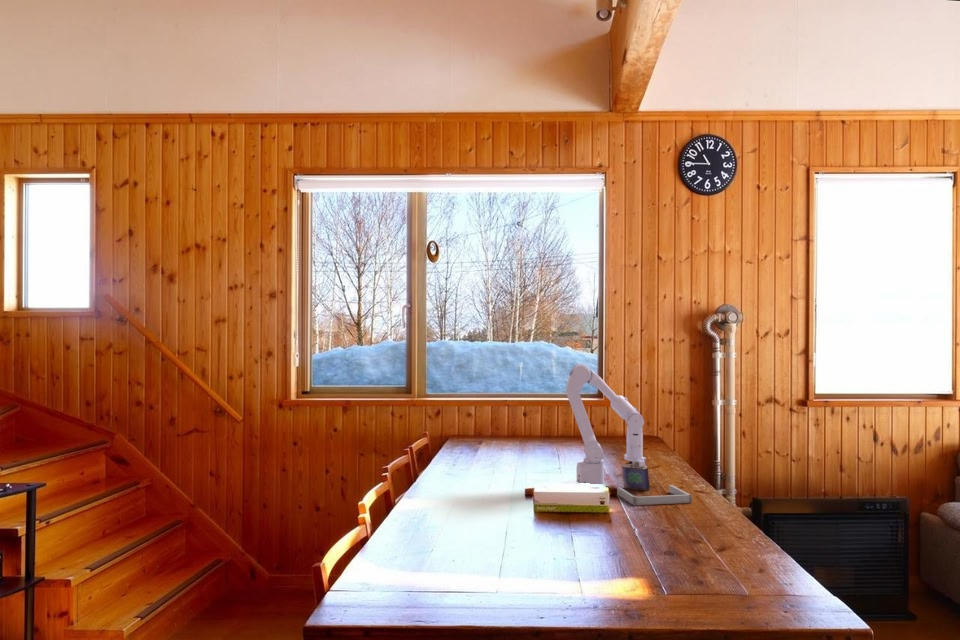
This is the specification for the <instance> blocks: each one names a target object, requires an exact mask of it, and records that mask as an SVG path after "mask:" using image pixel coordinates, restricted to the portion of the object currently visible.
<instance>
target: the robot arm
mask: <svg viewBox="0 0 960 640" xmlns="http://www.w3.org/2000/svg"><path fill="white" fill-rule="evenodd" d="M566 384H567V385H566V387H565V393H566V396H567V399H568V402H569V405H570V408H571V410H572V413H573V417H574V418H575V421H576V422H575V423H576V424H577V427H578V430H579V432H580V435H581V439H582V441H583V443H584V447H583V448H584V449H583V450H584V454H585V458H583V461H581V462H580V461H579V462H577V464H576V483H577V482H578V483H590V484H604V485H605V467H604V466H605V460H604V459H603V458H604V453H605V452H604V450H603V448H602V446H601V444H600V443H599V442H598V441H597V439H596V436H595V433H594V430H593V427H592V425H591V422H590V419H589V415H588V414H587V411H586V408H585V405H584V402H583V399H582V396H581V394H580V392H581V391H582V389H583V387H584V386H585V385H586V384H588V385H590V386H594V387H596V388H597V389H598V390H599V391H600V392H601V393H602V394H603V395H604V396H605V397H606V398H607V399H608V400H609V401H610V408H612V410H613V411H614V412H615V413H616V414H617V415H618V416H619V417H620V418H621V419H622V420H624V421H625V424H627V425H626V438H625V439H626V441H625V442H626V453H624V454H623V455H624V460H626V461H628V462H625V463H624V464H632V463H633V460H636V463H638V464H639V467H642V466H643V467H645V466H646V459H647V458H646V457H645V456H643V455H644V453H643V450H644V447H643V446H644V445H643V442H644V437H643V436H644V433H643V426H644V425H645V420H644V418H643V416H642V414H641V413H640V412H639V411H638V409H637V408H636V407H634V406H633V405H632V404H631V403H630V402H629V399H628V398H627V397H626V396H623V395H619V394H618V395H617V393H615V392H614V391H613V390H612V389H611V388H610V387H609V385H608V384H607V383H606V382H605V381H604V380H603V379H602V377H601V376H600V375H599V374H597V373H596V372H594V370H592V369H590V368H589V367H588V366H587V365H585V364H582V363H577V364H576V365H574V366H573V368H572V369H571V371H570V372H569V377H568V379H567V383H566Z"/></svg>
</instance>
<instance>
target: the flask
mask: <svg viewBox="0 0 960 640" xmlns="http://www.w3.org/2000/svg"><path fill="white" fill-rule="evenodd" d="M621 470H622V471H621V472H622V482H623V489H624V488H625V489H627V490H629V489H631V490H639V491H640V490H641V491H649V490H650V489H651V488H650V476H649V467H648V466H647V465H645V467H643V466H642V467H639V464H638V463H636V460H633V463H632V464H625V463H623V464H622V465H621Z"/></svg>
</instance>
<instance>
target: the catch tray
mask: <svg viewBox="0 0 960 640" xmlns="http://www.w3.org/2000/svg"><path fill="white" fill-rule="evenodd" d="M616 493H617V496H619V497H620V498H622V499H623V500H625V501H626V502H628V503H630V504H631V505H633V506H651V505H652V506H653V505H669V504H670V505H671V504H672V505H673V504H692V503H693V502H692V500H693V499H692V494H690V493H689V492H686V491H684V490H683V489H681V488H678V487H677V486H675V485H673V484H669V485H668V493H670V494H668V495H667V494H666V495H647V496H644V495H642V496H635V495H634V494H632V493H630V492H629V491H628V490H625V489H624V488H623V487H621V486H618V487H617V489H616Z"/></svg>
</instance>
